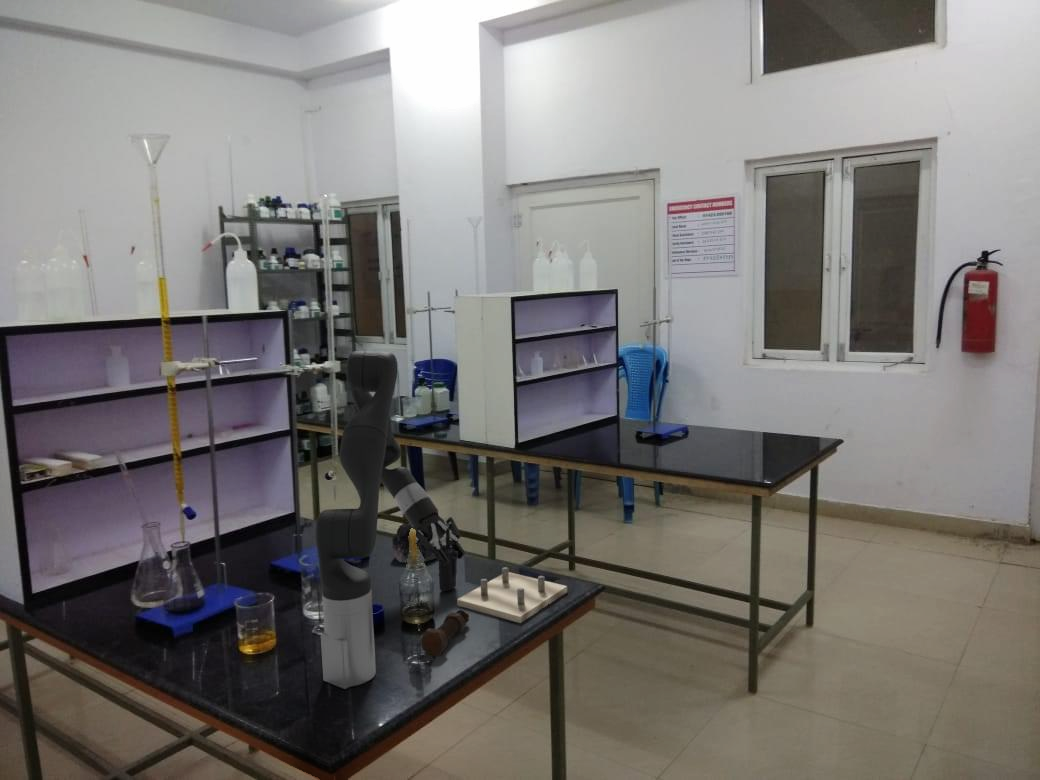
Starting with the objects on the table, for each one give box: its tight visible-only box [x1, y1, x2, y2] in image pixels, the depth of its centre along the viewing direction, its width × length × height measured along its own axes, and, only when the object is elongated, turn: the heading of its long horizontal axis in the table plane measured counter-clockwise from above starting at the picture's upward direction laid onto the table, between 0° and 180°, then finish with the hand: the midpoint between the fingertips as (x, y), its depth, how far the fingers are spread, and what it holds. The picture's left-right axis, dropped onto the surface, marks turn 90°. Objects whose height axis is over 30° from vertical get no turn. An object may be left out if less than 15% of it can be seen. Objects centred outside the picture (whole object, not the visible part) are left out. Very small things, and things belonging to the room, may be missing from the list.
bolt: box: [419, 609, 470, 656], centre depth 164 cm, size 6×5×15 cm
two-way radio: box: [438, 528, 459, 592], centre depth 189 cm, size 6×4×15 cm
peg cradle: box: [456, 566, 568, 624], centre depth 184 cm, size 20×18×5 cm
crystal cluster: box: [392, 522, 443, 564], centre depth 213 cm, size 13×14×10 cm
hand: (454, 560), depth 187 cm, fingers closed on two-way radio, 5 cm apart
